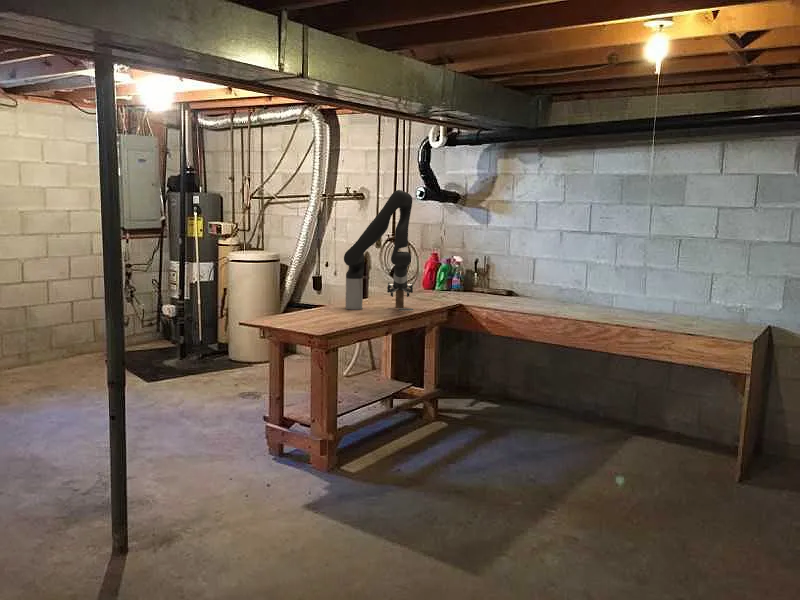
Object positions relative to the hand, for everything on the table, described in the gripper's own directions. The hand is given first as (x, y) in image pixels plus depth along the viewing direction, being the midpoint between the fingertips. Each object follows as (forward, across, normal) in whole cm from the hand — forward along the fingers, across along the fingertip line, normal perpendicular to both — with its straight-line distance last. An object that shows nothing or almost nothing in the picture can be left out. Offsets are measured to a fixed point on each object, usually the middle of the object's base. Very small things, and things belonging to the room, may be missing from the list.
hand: (399, 295), depth 379 cm
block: (+5, 0, +4) cm, 7 cm away
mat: (0, -3, +10) cm, 11 cm away
